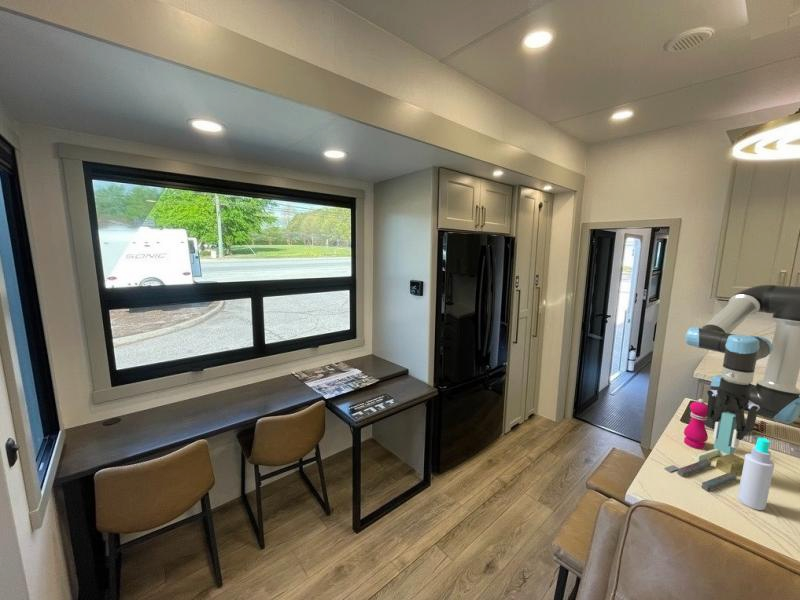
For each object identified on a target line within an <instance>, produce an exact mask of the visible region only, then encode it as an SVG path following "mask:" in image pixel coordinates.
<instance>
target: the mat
mask: <svg viewBox="0 0 800 600" xmlns="http://www.w3.org/2000/svg"><path fill="white" fill-rule="evenodd" d="M679 468H680V467H678V466H677V465H675V464H673V465H669V466H666V467H664V468H663V470H665V471H667V472H668V473H674V472H675V471H678V469H679Z"/></svg>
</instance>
